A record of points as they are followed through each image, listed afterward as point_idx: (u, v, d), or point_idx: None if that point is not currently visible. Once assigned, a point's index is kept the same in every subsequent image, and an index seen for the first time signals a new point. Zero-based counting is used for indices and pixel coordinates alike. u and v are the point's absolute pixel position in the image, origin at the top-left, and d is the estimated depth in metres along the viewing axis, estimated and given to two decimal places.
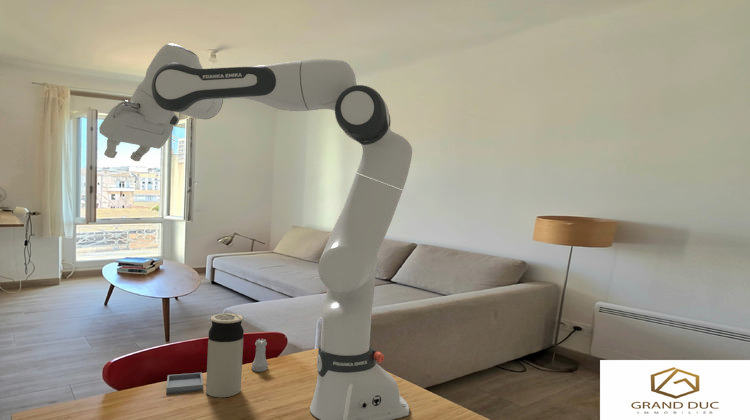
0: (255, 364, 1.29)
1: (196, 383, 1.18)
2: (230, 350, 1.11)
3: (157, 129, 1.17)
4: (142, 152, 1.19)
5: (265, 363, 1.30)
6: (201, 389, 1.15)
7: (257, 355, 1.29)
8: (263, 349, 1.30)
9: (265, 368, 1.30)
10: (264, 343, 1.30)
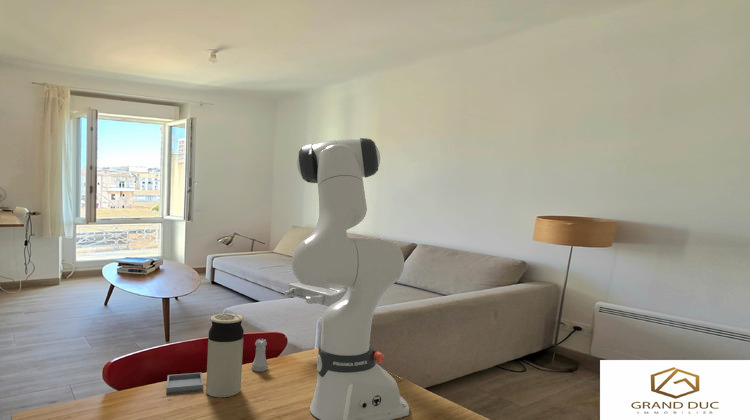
0: (255, 364, 1.29)
1: (196, 383, 1.18)
2: (230, 350, 1.11)
3: (331, 290, 1.43)
4: None
5: (265, 363, 1.30)
6: (201, 389, 1.15)
7: (257, 355, 1.29)
8: (263, 349, 1.30)
9: (265, 368, 1.30)
10: (264, 343, 1.30)
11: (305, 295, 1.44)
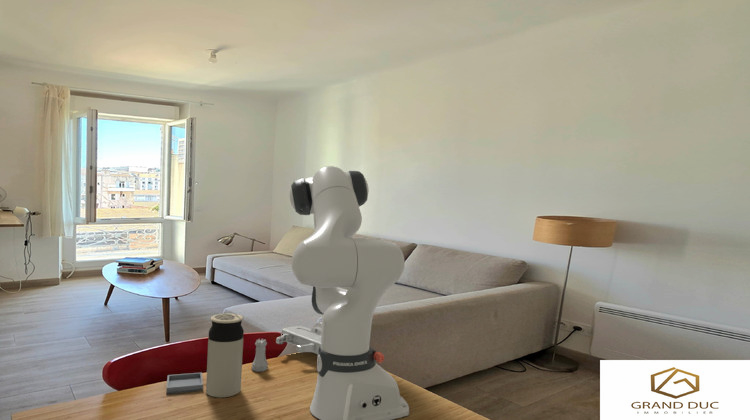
0: (255, 364, 1.29)
1: (196, 383, 1.18)
2: (230, 350, 1.11)
3: None
4: None
5: (265, 363, 1.30)
6: (201, 389, 1.15)
7: (257, 355, 1.29)
8: (263, 349, 1.30)
9: (265, 368, 1.30)
10: (264, 343, 1.30)
11: (297, 341, 1.42)
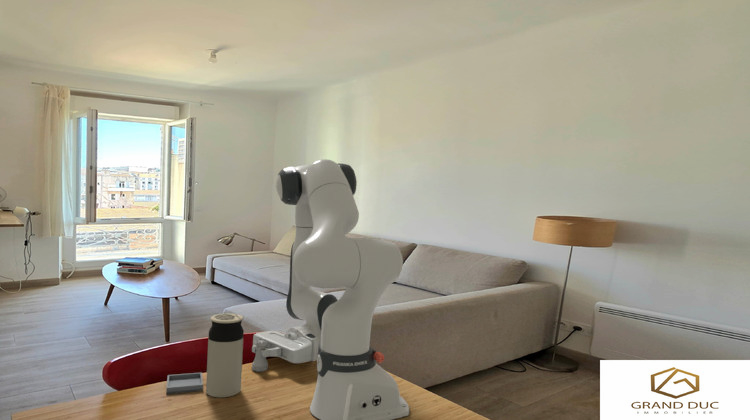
0: (255, 364, 1.29)
1: (196, 383, 1.18)
2: (230, 350, 1.11)
3: (296, 343, 1.34)
4: None
5: (265, 363, 1.30)
6: (201, 389, 1.15)
7: (257, 355, 1.29)
8: None
9: (265, 368, 1.30)
10: (264, 343, 1.30)
11: None
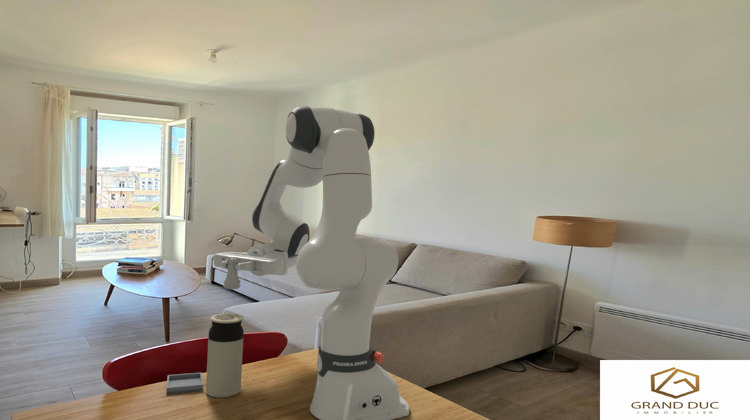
0: (229, 281, 1.24)
1: (196, 383, 1.18)
2: (230, 350, 1.11)
3: (266, 258, 1.32)
4: None
5: (239, 280, 1.26)
6: (201, 389, 1.15)
7: (230, 272, 1.25)
8: None
9: (239, 285, 1.26)
10: (237, 259, 1.25)
11: None
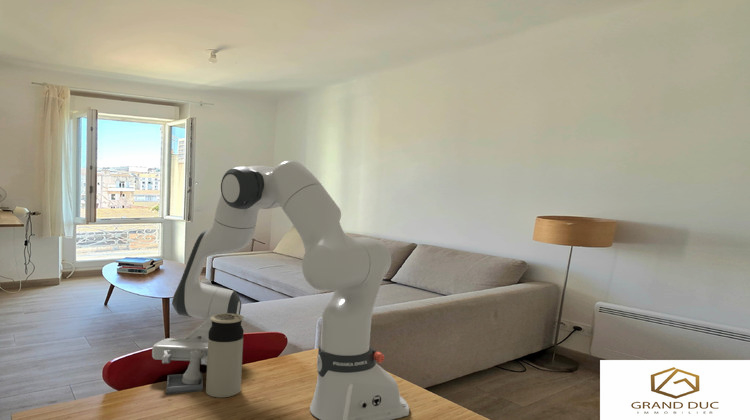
0: (192, 377, 1.15)
1: None
2: (230, 350, 1.11)
3: None
4: None
5: (200, 374, 1.18)
6: (201, 389, 1.15)
7: (194, 367, 1.16)
8: (200, 359, 1.17)
9: (199, 380, 1.18)
10: (202, 353, 1.17)
11: (183, 355, 1.21)
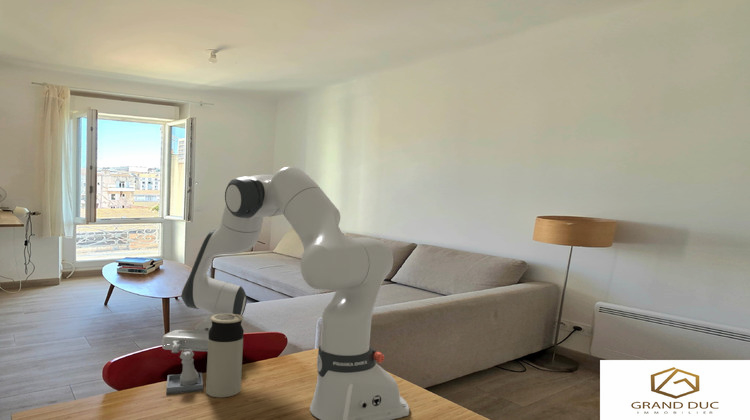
0: (187, 378, 1.15)
1: (196, 383, 1.18)
2: (230, 350, 1.11)
3: None
4: None
5: (196, 373, 1.17)
6: (201, 389, 1.15)
7: (186, 368, 1.15)
8: (192, 360, 1.16)
9: (197, 378, 1.17)
10: (192, 353, 1.16)
11: (191, 346, 1.28)
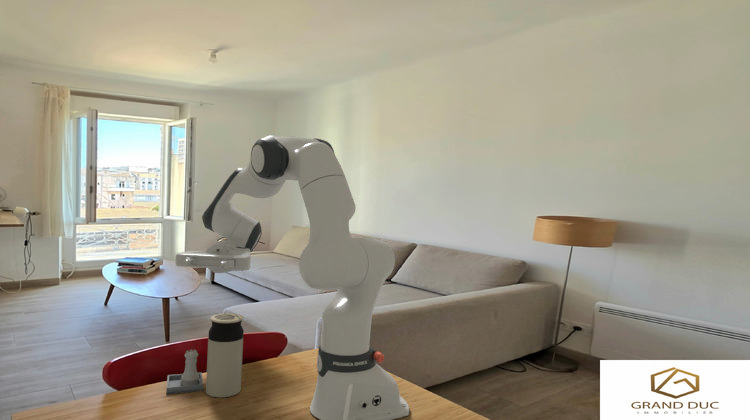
0: (187, 378, 1.15)
1: None
2: (230, 350, 1.11)
3: (232, 255, 1.38)
4: None
5: (198, 375, 1.17)
6: (201, 389, 1.15)
7: (188, 368, 1.16)
8: (195, 360, 1.17)
9: (198, 381, 1.17)
10: (196, 354, 1.17)
11: (203, 263, 1.33)
